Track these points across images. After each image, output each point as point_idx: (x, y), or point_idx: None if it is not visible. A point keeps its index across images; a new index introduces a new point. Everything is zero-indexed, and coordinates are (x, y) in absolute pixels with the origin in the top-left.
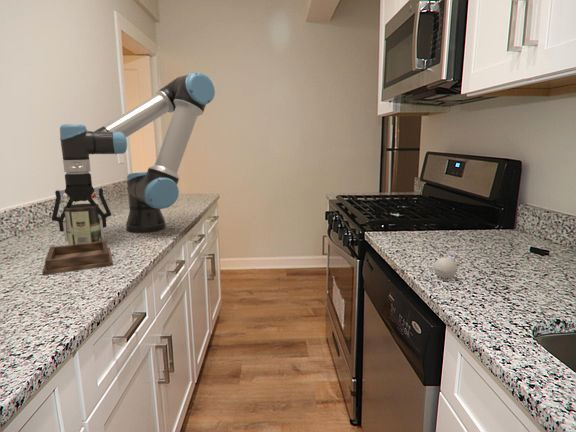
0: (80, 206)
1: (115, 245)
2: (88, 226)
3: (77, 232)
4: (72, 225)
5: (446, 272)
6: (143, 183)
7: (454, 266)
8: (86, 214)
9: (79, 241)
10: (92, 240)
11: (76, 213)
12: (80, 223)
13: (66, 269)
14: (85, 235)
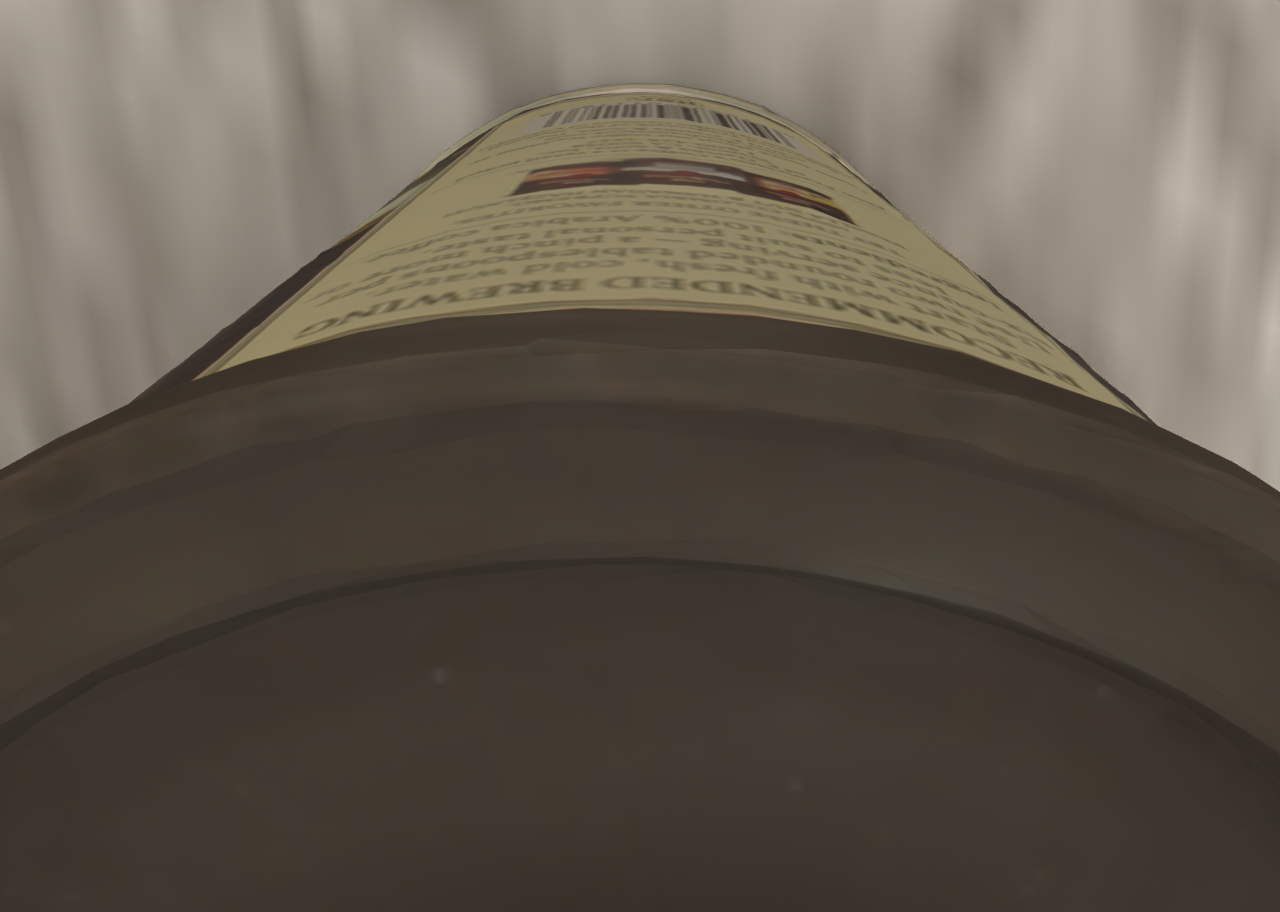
0: None
1: (81, 229)
2: (443, 191)
3: (792, 164)
4: (966, 268)
5: None
6: None
7: None
8: (348, 301)
9: (742, 122)
10: (456, 153)
11: (880, 310)
12: (691, 183)
13: None
14: (585, 122)
